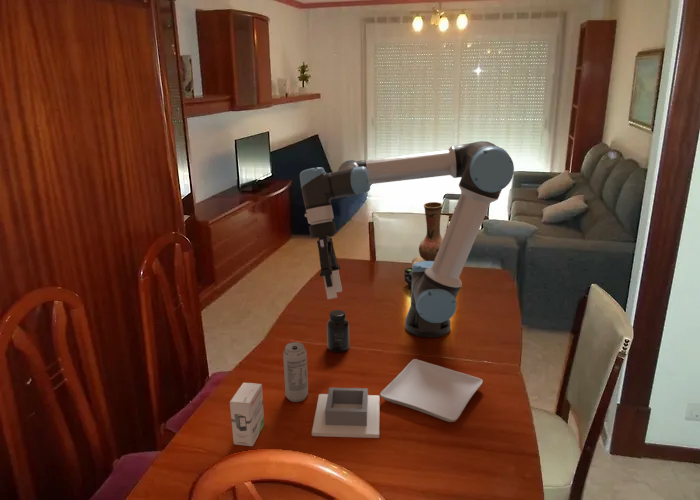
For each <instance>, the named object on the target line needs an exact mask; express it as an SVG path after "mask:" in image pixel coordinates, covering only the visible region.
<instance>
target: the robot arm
mask: <svg viewBox="0 0 700 500" xmlns="http://www.w3.org/2000/svg"><path fill="white" fill-rule="evenodd" d="M514 165H515V164H514V162H513V159H512V158H511V156H510V153H508V152H507V151H506V150H505V149H504V148H503V147H500V146H498V145H496V144H494V143H492V142H490V141H482V140H481V141H474V142H469V143H465V144H459V145H451V146H450V147H449V148H448V149H447V150H446V149H445V150H438V151H430V152H428V151H427V152H420V153H413V154H405V155H404V154H403V155H395V156H389V157H388V156H387V157H380V158H379V157H377V158H371V159H364V160H363V159H362V160H354V159H348V160H346V161H344V162H341V165H340V166H339V167H338V169H337V171H333V172H326V171H325V168H324V167H321V166H320V167H311V168H307V169H304V170H302V171H301V172H299V182H300V189H301V195H302V199H303V204H304V208H305V213H304V217H305V218H306V219H307V223H308V224H310V225H309V226H308V230H309V235H310V238H311V239H315V238H318V239H317V241H316V244H317V249H318V256H319V265H320V272H319V276H320V277H322V278H323V281H324V282H323V283H324V288H325V294H326V299H327V300H331V299H337V298H338V293H341V292H343V287H342V283H341V278H340V272H339V270H341V266H340V265H339V264H338V259H337V256H336V253H335V248H334V242H333V238H332V237H330V236H332V235H335V234H337V229H336V227H337V226H336V222H335V221H334V218H335V217H334V210H333V207H332V205H333V204H332V202H331V200H334V199H339V198H345V197H350V196H351V197H352V196H356V195H358V196H359V195H361V194H364V193H369V192H370V190H371V185H373V184H374V185H375V184H376V185H377V184H383V183H392V182H400V181H410V180H416V179H417V180H419V179H427V178H437V177H438V178H439V177H443V176H451V177H452V178H454V179H457V178H460V181H459V183H458V187H459V189H460V192H461V193H460V196H459V198H458V201H457V203H456V205H455V207H454V211H453V213H452V216H451V219H450V221H449V222H448V226H447V229H446V230H445V233H444V236H443V237H442V238H443V240H442V243H441V245H440V248H439V250H438V253H437V256H436V258H435V261H421V262H417V263H415V264H413V266H412V265H411V268H412V271H411V273H412V285H411V290H410V307H409V309H408V311H407V314H406V318H405V322H404V328H405V330H406V331H407V332H408V333H409V334H412V335H413V336H416V337H421V338H426V339H427V338H428V339H429V338H430V339H431V338H432V339H433V338H440V337H444V336H445V335H448V333H450V331H451V320H450V319H451V318H452V317H453V316H454V315H455V313H456V310H457V303H458V302H457V297H458V295H459V293H460V290H461V289H462V288H461V287H462V280H461V278H460V276H461V274H462V272H463V270H464V267H465V264H466V262H467V260H468V258H469V255H470V252H471V250H472V248H473V245H474V243H475V240H476V238H477V236H478V233H479V231H480V229H481V227H482V224H483V222H484V219H485V216H486V214H487V212H488V209H489V207H490V205H491V203H493V202H496V201H497V200H499V197H500V195H501V194H502V190H503V189H505V188H506V187H507V186H509V184H510V183H511V181H512V179H513V176H514V172H515V166H514Z"/></svg>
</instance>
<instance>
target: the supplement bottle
mask: <svg viewBox="0 0 700 500" xmlns="http://www.w3.org/2000/svg"><path fill="white" fill-rule="evenodd" d="M349 323H350V322H349V321H348V320H347V319H346V312H345V311H344V310H341V309H334V310H332V311H330V313H329V319H328V321H327V322H326V336H327V337H326V339H327V340H326V341H327V349H328V351H330V352H332V353H344V352H346V351H347V350H349V348H350V324H349Z"/></svg>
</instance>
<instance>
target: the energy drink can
mask: <svg viewBox="0 0 700 500" xmlns="http://www.w3.org/2000/svg"><path fill="white" fill-rule="evenodd" d="M284 346H285V347H284V350H283V352H282V354H283V355H282V357H283V373H284V391H285V392H284V393H285V394H284V395H285V397H286V398H287V399H288V400H289V401H290V402H293V403H298V402H302V401H304V400H306V398H307V396H308V394H309V384H308V383H309V381H308V357H307V356H308V355H307V354H308V353H307V349H306V348H305V345H304V344H303V343H302V342H298V341H297V342H296V341H294V342H293V341H291V342H288V343H287V344H286V345H284Z"/></svg>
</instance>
